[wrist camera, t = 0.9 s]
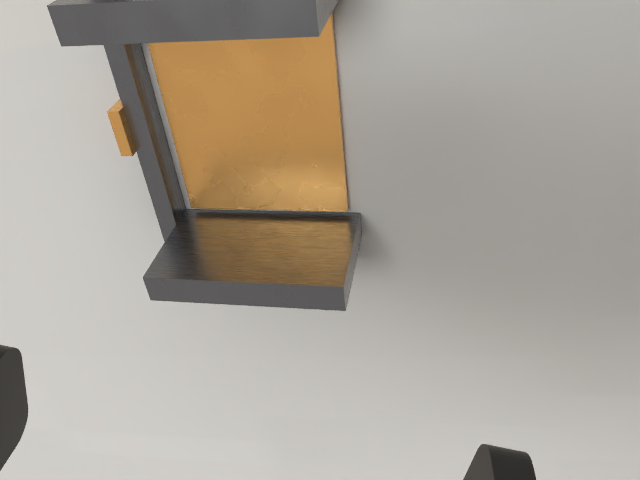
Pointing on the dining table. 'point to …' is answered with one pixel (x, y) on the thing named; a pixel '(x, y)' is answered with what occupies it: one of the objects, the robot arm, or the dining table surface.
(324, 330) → the dining table surface
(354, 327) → the dining table surface
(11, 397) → the robot arm
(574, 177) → the dining table surface
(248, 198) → the rack
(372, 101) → the dining table surface
